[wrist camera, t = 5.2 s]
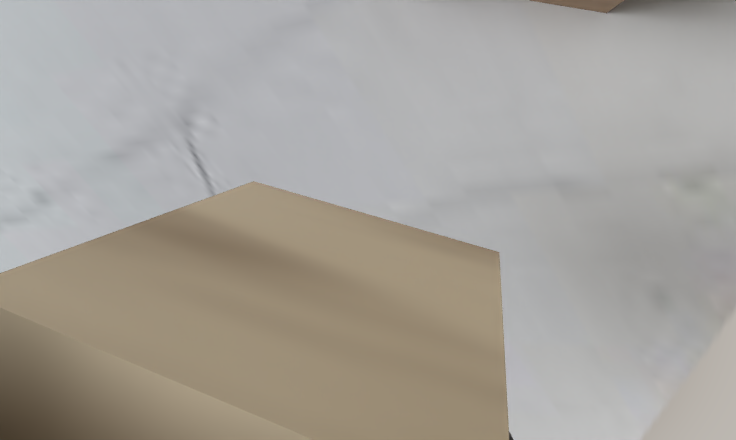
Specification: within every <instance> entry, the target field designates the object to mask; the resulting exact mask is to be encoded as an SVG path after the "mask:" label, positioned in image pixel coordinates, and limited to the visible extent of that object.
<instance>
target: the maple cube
mask: <svg viewBox="0 0 736 440" xmlns="http://www.w3.org/2000/svg"><path fill="white" fill-rule="evenodd" d="M0 440H509V427H508V408H507V389H506V371H505V352H504V333H503V315H502V296H501V277H500V258H499V252H496V251H493V250H490V249H486V248H483V247H479V246H476V245H472V244H469V243H465V242H462V241H458V240H455V239H451V238H448V237H445V236H441V235H438V234H434V233H431V232H427V231H424V230H420V229H417V228H413V227H410V226H407V225H403V224H400V223H396V222H393V221H389V220H386V219H382V218H379V217H375V216H372V215H368V214H365V213H362V212H358V211H355V210H351V209H348V208H344V207H341V206H337V205H334V204H330V203H327V202H323V201H320V200H317V199H313V198H310V197H306V196H303V195H299V194H296V193H292V192H289V191H285V190H282V189H278V188H275V187H272V186H268V185H265V184H261V183H258V182H254V181H253V182H251V183H248V184H245V185H242V186H240V187H237V188H234V189H231V190H229V191H226V192H223V193H220V194H218V195H215V196H212V197H209V198H206V199H204V200H201V201H198V202H195V203H193V204H190V205H187V206H184V207H182V208H179V209H176V210H173V211H171V212H168V213H165V214H162V215H160V216H157V217H154V218H151V219H149V220H146V221H143V222H140V223H138V224H135V225H132V226H129V227H126V228H124V229H121V230H118V231H115V232H113V233H110V234H107V235H104V236H102V237H99V238H96V239H93V240H91V241H88V242H85V243H82V244H80V245H77V246H74V247H71V248H69V249H66V250H63V251H60V252H58V253H55V254H52V255H49V256H46V257H44V258H41V259H38V260H35V261H33V262H30V263H27V264H24V265H22V266H19V267H16V268H13V269H11V270H8V271H5V272H2V273H0Z"/></svg>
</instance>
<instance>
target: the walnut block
mask: <svg viewBox="0 0 736 440" xmlns="http://www.w3.org/2000/svg"><path fill="white" fill-rule="evenodd" d="M531 1H537V2H543V3H549V4H555V5H561V6H567V7H573V8H579V9H585V10H591V11H597V12H603V13H607V12H609V11H610V10H612V9H613V8H614V7H616V6H617V5H619V4H620V3H621V2H623V1H624V0H531Z"/></svg>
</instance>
